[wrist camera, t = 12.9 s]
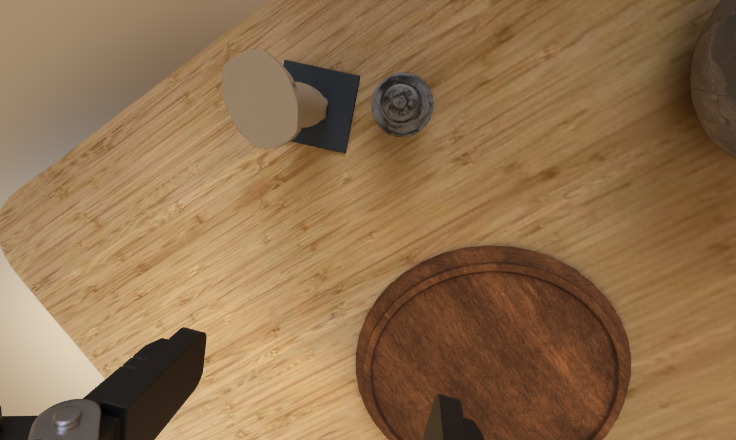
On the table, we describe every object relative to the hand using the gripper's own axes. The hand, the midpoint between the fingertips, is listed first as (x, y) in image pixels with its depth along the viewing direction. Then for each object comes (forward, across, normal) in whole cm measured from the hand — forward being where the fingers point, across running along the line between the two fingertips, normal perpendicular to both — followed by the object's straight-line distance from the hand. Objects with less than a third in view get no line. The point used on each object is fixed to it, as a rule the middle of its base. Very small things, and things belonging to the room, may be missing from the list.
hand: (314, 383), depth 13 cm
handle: (+30, +9, -8) cm, 33 cm away
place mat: (+30, +9, -8) cm, 33 cm away
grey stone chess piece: (+31, 0, -10) cm, 32 cm away
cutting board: (+31, -17, +18) cm, 39 cm away
